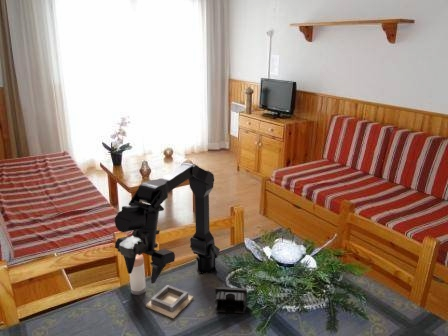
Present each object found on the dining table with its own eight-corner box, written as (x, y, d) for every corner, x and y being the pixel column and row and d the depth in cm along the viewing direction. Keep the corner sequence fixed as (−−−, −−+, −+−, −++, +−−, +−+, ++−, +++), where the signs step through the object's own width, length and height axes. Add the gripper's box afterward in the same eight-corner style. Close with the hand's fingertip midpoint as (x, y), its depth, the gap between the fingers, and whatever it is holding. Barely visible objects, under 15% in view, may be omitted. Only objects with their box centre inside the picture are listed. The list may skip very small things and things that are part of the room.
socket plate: (167, 288, 131) (166, 281, 130) (193, 298, 126) (193, 291, 125) (146, 306, 122) (145, 299, 121) (173, 318, 117) (173, 311, 116)
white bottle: (144, 284, 133) (142, 252, 129) (146, 293, 129) (144, 260, 125) (130, 287, 132) (127, 255, 128) (131, 296, 127) (128, 262, 123)
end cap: (246, 301, 125) (247, 284, 123) (246, 316, 118) (246, 298, 116) (216, 300, 125) (216, 282, 123) (214, 314, 119) (214, 296, 117)
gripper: (103, 222, 107) (97, 275, 108) (152, 239, 98) (145, 297, 99) (131, 217, 117) (125, 266, 118) (179, 232, 107) (172, 285, 109)
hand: (141, 278), depth 111 cm, fingers open, 9 cm apart
